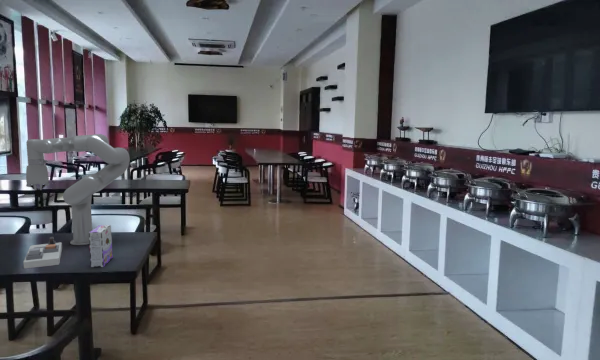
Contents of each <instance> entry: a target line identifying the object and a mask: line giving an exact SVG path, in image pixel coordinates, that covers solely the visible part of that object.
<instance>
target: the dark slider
mask: <svg viewBox="0 0 600 360" xmlns="http://www.w3.org/2000/svg"><path fill="white" fill-rule="evenodd" d="M56 243H57V242H56V240H55V239H54V236H49V240H48V242H47V244H48V245H51V244H56Z"/></svg>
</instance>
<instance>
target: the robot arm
mask: <svg viewBox="0 0 600 360" xmlns="http://www.w3.org/2000/svg"><path fill="white" fill-rule="evenodd" d="M63 152H76V153H81V152H84V153H85V152H91V153H93V154H94V155H95V156H97V158H99V159H101V160H102V161H103V162H104V163H107V164H106V166H104V167H103V168H102V169H99V170H98V171H97V172H95V173H92V174H88V175H86V176H84V177H83V178H80V179H79V180H78V181H76V182H75V183H73V184H71V186H69V187H68V188H66V189H65V190H64V192H63V195H62V199H63V201H64V202H65V204H67V205H69V206H71V223H72V236H73V237H72V239H71V240H70V245H72V246H85V245H89V232H90V231H92V230H93V221H92V220H93V219H92V218H93V217H92V216H93V215H92V198H93V197H92V196H93V195H94V194H95V193H97V192H100V191H102V190H104V188H106V187H107V186H108V185H110V184H111V183H112V182H114V181H115V180H116V179H118V178H120V177H121V176H122V175H124V173H125V172H126V170H128V168H129V165H130V160H131V159H130V154H129V151H128V150H127V149H125V148H124V147H113V146H112V145H111V144H110V142H109V138H108V137H107V136H106V135H105V134H101V133H98V134H97V133H95V134H84V135H83V134H82V135H74V136H71V137H55V138H54V137H53V138H46V139H39V138H36V139H35V138H33V139H28V140H26V153H27V154H26V155H27V156H26V157H27V165H26V168H25V169H26V170H25V176H26V177H25V178H26V179H25V181H26V182H25V183H26V185H25V187H26V188H27V187H28V188H31V189H33V190H34V193H35V194H34V196H35V197H36V198H37V199H38V198H41V197H42V196H43V189H44V188H45V187H49V186H50V182H49V181H50V178H49V177H50V176H49V170H48V166H47V163H48V160H47V159H45V154H46V155H47V154H54V153H63ZM37 185H39V188H38V186H37Z"/></svg>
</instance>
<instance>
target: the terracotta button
mask: <svg viewBox="0 0 600 360" xmlns="http://www.w3.org/2000/svg"><path fill="white" fill-rule="evenodd" d="M54 248H56V244H51V245H46V249H54Z"/></svg>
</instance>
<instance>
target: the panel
mask: <svg viewBox="0 0 600 360" xmlns="http://www.w3.org/2000/svg"><path fill="white" fill-rule="evenodd" d="M46 245H48V243H43V244H41V243H40V244H33V245H32V244H31V245H30V246H29V248H28V251H27V253H26V254H25V257H24V260H23V262H22V263H23V270H25V269H33V268H41V267H43V268H44V267H52V266H58V265H60V261H61V257H62V250H63V243H62V242H56V248H54V249H46ZM32 248H40V254H39V255H35V256H29V249H32Z"/></svg>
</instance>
